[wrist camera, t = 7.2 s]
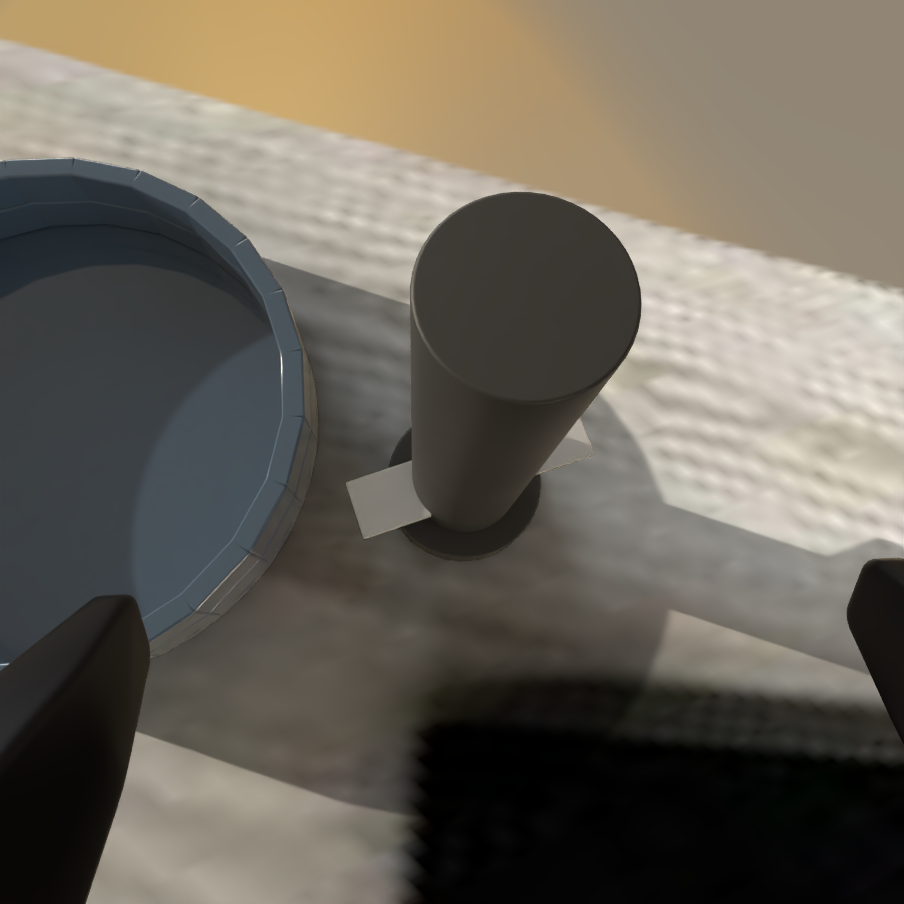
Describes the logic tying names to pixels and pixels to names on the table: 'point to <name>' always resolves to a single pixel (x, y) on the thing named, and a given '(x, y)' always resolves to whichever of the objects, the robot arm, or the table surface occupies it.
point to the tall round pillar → (501, 369)
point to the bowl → (139, 403)
